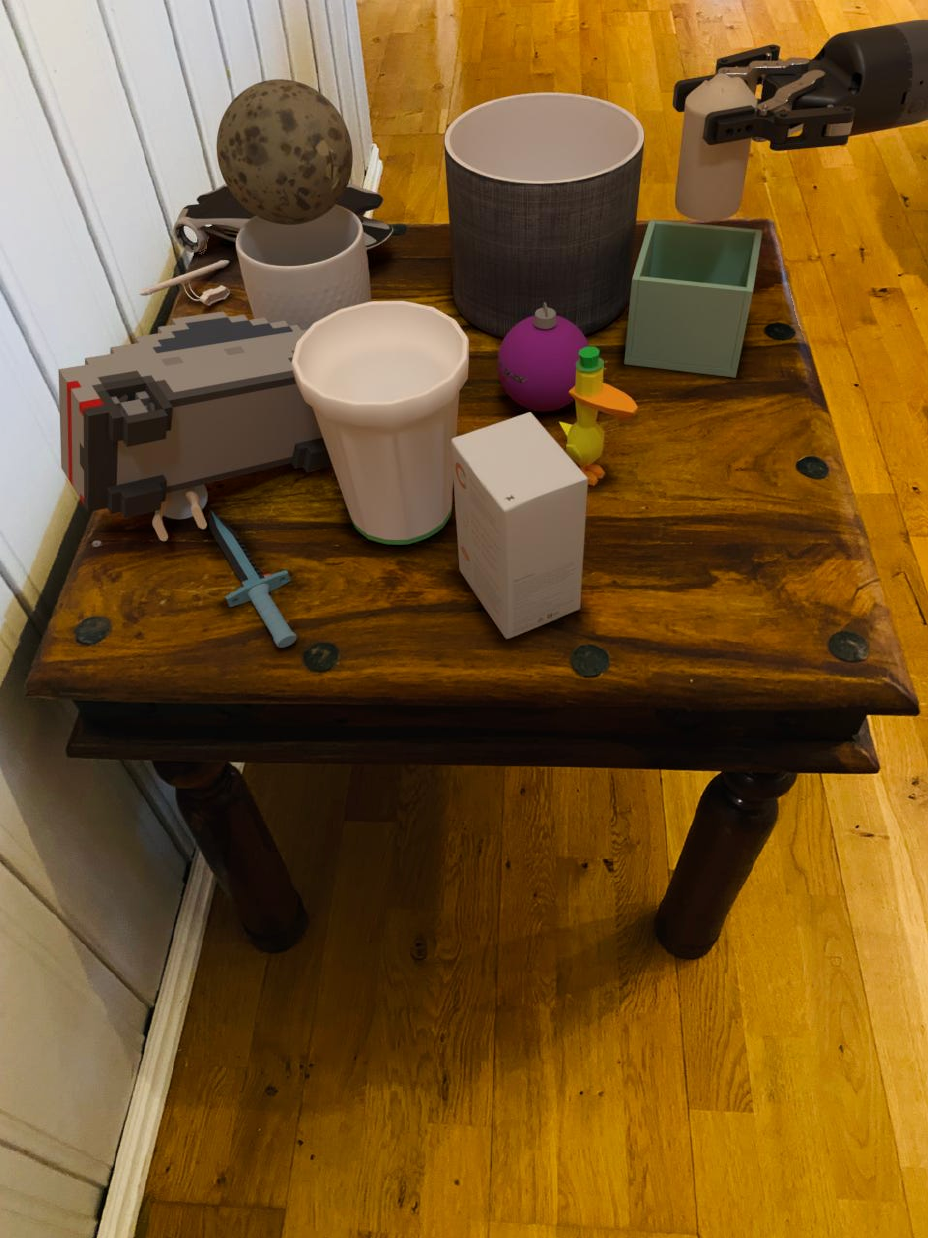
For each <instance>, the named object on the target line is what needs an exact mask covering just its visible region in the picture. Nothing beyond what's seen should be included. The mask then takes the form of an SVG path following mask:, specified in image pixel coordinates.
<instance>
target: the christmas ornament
mask: <svg viewBox="0 0 928 1238" xmlns="http://www.w3.org/2000/svg"><path fill="white" fill-rule="evenodd" d="M585 347H590V344H589V341H588V340H587V338H586V335H583V333H582V332H581V331H580V329H579V328H578V327H577V326H576V325H574V324H573V323H572V322H570V321H569V320H567V319H565V318H562V317H560V316H556V312H555V311H554V310H553V309H551V308H547V304H546V302H544V304H543V308H540V309H538V310H537V311H536V312H535V316H531V317H528V318H526V319H524V320H522V321H521V322H519V323H518V324H516V325H515V326H514V327H513V328H512V329H511V330H510V331H509V332H508V334H507V335H506V336H505V338H503V340H502V342H501V344H500V346H499V350H498V352H497V353H498V354H497V362H496V365H497V375H498V378H499V381H500V384H501V386H502V388H503V390H504V391H505V392H506V394H507V395H508V396H509V397H510V399H511V400H513V401H514V402H515V403H516V404H518V405H519V406H521V407H523V408H525V409H528V410H530V411H534V412H542V413H543V412H554V411H557V410H560V409H562V408H565V407H567V406H568V405H570V404H571V403H573V402H574V401H575V398H573V397H572V396H571V395H570V394H569V391H570V390H571V389H572V388H573V387H574V386H575V383H576V369H577V368H576V362H577V361H578V360H579V359H580V358H579V351H580V349H583V348H585Z"/></svg>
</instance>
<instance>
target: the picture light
mask: <svg viewBox="0 0 928 1238" xmlns="http://www.w3.org/2000/svg"><path fill="white" fill-rule="evenodd" d="M229 264H230V260H226V259H223V260H222V259H221V260H219V261H217V262H214V263H212V264H209V265H206V266H203V267H200V268H198V269H195V270H193V271H190V272H186V273H184V274H181V275H178V276H176V277H172V278H171V279H168V280H165V281H162V282H159V283H156V284H154V285H151V286H146V287H144V288H143V289H142V290H140V291H139V296H143V297H144V296H145V297H147V296H151V295H153V294H155V293H157V292H160V291H163V290H165V289H168V288H171V287H173V286H176V285H180V284H181V285H182V286H183V289H184V291H185V294H186V296H188V298H190V299H191V300H193V301H195V302H198V301H199V302H202V303H203V304H204V305H206V306H211V305H212V304H215V303H216V302H218V301H222V300H226V299H227V297H228V296H229V295H230V293H231V290H230V289H229V287H226V286H225V285H222V284H220V285H219V286H218V287H216V288H209V289H207V290H204V291H202V295H200V296H198V295H197V294H196V293H195V292H194V291H193V289H192V287H191V282H192V280H193V279H195V278H198V277H200V276H204V275H206V274H209V273H211V272H214V271H217V270H220V269H224V268H225V267H227V266H228V265H229ZM185 284H188V287H189V290H190V292H192V294H193V296H195V297H196V298H198V299H196V298H193V297H192V296H191V295H190V294H189V293H188V291H187V289H186V286H185Z"/></svg>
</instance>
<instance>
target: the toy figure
mask: <svg viewBox="0 0 928 1238" xmlns="http://www.w3.org/2000/svg"><path fill="white" fill-rule="evenodd" d="M600 352H601V350H600V348H597V347H596V346H589V347H585V348H583V349H580V351H579V358H580V359H579V360H578V361H577V362H576V368H577V369H576V383H575V386H574V387H573V388H572V389H571V390H570V391H569V394H570V395H571V396H572V397H573V398H575V400H574V401H575V402H574V403H575V412H576V421H575V422H574V423H573V424H570V423H566V422H563V421H558V423H559V425H560V427H561V429H562V431H563V433H564V435H565V436H566V444H565V449H566V451H565V452H566V453H567V454H568V455H569V457H570V458H571V459H572V460H573V461H574V462H575V464H577V465H578V466H579V468H580V469H581V471H582V472H583V473H584V474H585V475H586V476H587V477H588V486H593V487H594V486H595V485H597V483H598V482H599V479H601V480H602V479H603V478H604V476H605V475H606V471H604V469H603V468H602V467H601V465H599V464H595V462H596V461H598V460H599V459H600V458H601V457H602V455H603V452H604V451H603V450H604V445H605V434H606V431H605V430H604V429H603V428H602V427H601V426H600V425H599V424H598V422H597V419H598V414H599V412H601V413H604V414H607V415H610V416H612V417H614V418H618V419H622V420H624V419H627V418H629V417H631V416H634V415H636V414H637V410H638V408H639V406H638V405H637V403H636V401H634V399H633V397H631V396H629V394H627V393H626V392H624V391H623V390H620V389H619V388H616V387H614V386H613V385H611V384H608V383H605V382H604V372H605V371H604V370H605V361H604V359H603V358H601V357H600Z"/></svg>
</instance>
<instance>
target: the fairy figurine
mask: <svg viewBox="0 0 928 1238" xmlns="http://www.w3.org/2000/svg"><path fill="white" fill-rule="evenodd" d="M207 502H208V490H207V487H206V484H203V485H199V486H195V487H191V488H187V489H183V490H179V491H175V492H170V493H166V501H163V502H161V510H157V511H154V516H153V518H152V521H151V522H152V527H153V528H154V531H155V532H156V533H155V534H157V537H158V539H159V540H160V541H162V542H166V541H167V540H168V539H169V534H168V532H167V530H166V527H165V524H164V521H163V517H165V518H169V519H173V520H185V519H190V518H192V517H193V518H194V521H195V523H196V525H197V527H198V528H199V529H201V530H205V529H206V528H207V526H208V523H207V520H206V518H205V516H204V513H203V509H204V508H205V506H206V504H207Z"/></svg>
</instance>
